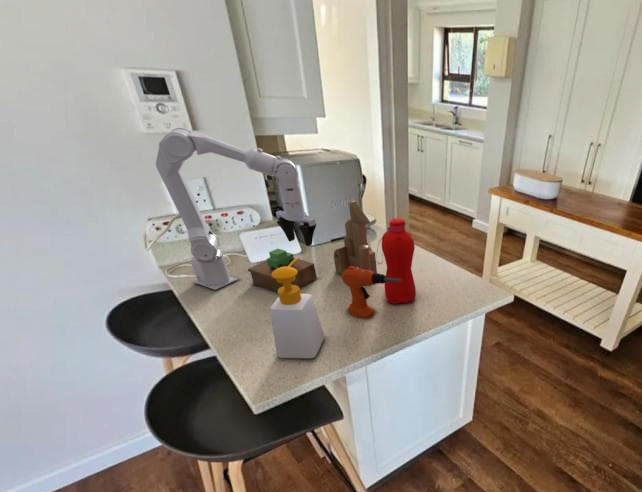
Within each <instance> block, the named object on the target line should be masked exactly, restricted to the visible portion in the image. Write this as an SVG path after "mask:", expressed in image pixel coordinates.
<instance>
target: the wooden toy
mask: <svg viewBox="0 0 642 492" xmlns="http://www.w3.org/2000/svg"><path fill="white" fill-rule="evenodd" d="M348 206H349V215H350V218H349V219H347V221H346V222H345V224H344V228H345V229H344V230H345V235H344V236H343V243H344V246H341V247H338V248H336V249H335V250H334V251H333V261H334V268H335V273H337V274H339V275H341V276H342V273H343V272H344V271H345V270H346V269H347V268H348V267H350V266H353V267H355V268H359V269H363V270H371V271H373V272H376V273H378V269H377V256H376V252H375V251H374V250H373V249H372V248H371V247H370V245H369V243H368V238H367V237H368V236H367V227H366V225H370V224H371V221H370V219H369V218H368V216H367V215H366V214H365V212H364V211H363V209H362V208H361V207H360V205H359V204H358V202H357V201H356V200H352V201H349V202H348Z"/></svg>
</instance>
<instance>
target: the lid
mask: <svg viewBox="0 0 642 492" xmlns="http://www.w3.org/2000/svg"><path fill="white" fill-rule="evenodd" d="M296 258H297V257H294V259H296ZM288 265H289V264H286V265H284V266H283V267H288ZM313 266H314V267H315V263H314V262H310V261H307V260H302V259H298V260H297V261H295V262H294V263H293V264H292V266H291V267H292V268H294V269H296V270H297V271H298V273H297V274H299V273H301V272H303V271H305V270H307V269H309V268H311V267H313ZM276 269H277V268H271V267H269V266H268V263H267V260H265V261H262V262H260V263H258V264H255V265H254V266H251V267H248V268H247V272H249V273H250V272H252V273H256V274H259V275H262V276H265V277H268V278H272V279H275V278H273V277H272V276H271V274H272V272H273V271H274V270H276ZM275 280H276V279H275Z"/></svg>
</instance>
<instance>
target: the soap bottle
mask: <svg viewBox="0 0 642 492" xmlns="http://www.w3.org/2000/svg"><path fill="white" fill-rule="evenodd" d="M295 258H296V259H294V260H293V261H292V262H291V263H290V264H289V265H288V267H280V268H277V269H276V270H274V271H273V272H272V274H271V276H272V277H273V278H275V279H276V280H277V282H279V283H283V285H284V286H283V287H280V288H279V289H278V292H277V295H278V297H277V298H276V299H275V301H274V302H273V304H272V305H270V309H269V313H270V319H271V326H272V332H273V338H274V345H275V352H276V356H277V357H279V358H281V359H314V358H315V357H317V354H318V352H319V350H320V348H321V346H322V344H323V341H324V340H325V338H326V337H325V333H324V330H323V326H322V323H321V319H320V317H319V314H318V310H317V307H316V303H315V301H314V298H313V295H312V294H310V293H301V288H299V287H298V286H296V285H291V282H292V281H294V280H295V275H297V273H298V271H297V270H296V269H294V268H292V267H291V266H292V264H293V263H294V262H295V261H297V260H298V259H300V258H301V257H300V256H298V257H295ZM300 260H301V259H300Z"/></svg>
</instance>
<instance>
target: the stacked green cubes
mask: <svg viewBox="0 0 642 492" xmlns="http://www.w3.org/2000/svg"><path fill="white" fill-rule="evenodd" d="M268 253H269V257H267V258H266V261H267V263H268V266H269V267H271V268H280V267H283V266H284V265H286V264H290V263H291V262H292V261H293V260H294V258H295V257H294V254H293V253H291V252H287V250H284V249H282V248H281V249H280V248H276V249H273V250H271V251H269V252H268Z"/></svg>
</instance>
